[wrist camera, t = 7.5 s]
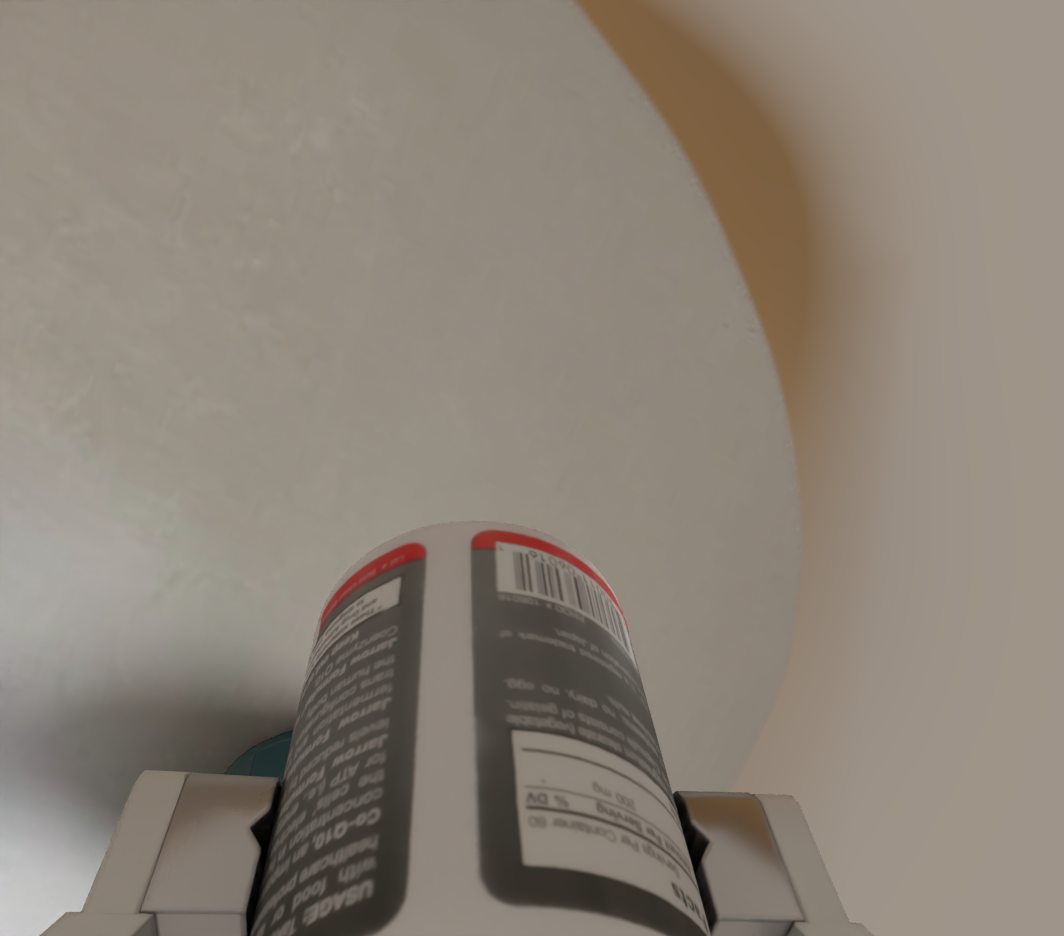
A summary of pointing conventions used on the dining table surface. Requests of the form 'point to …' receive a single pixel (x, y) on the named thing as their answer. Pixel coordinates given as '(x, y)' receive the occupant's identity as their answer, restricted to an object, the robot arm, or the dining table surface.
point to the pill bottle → (475, 755)
